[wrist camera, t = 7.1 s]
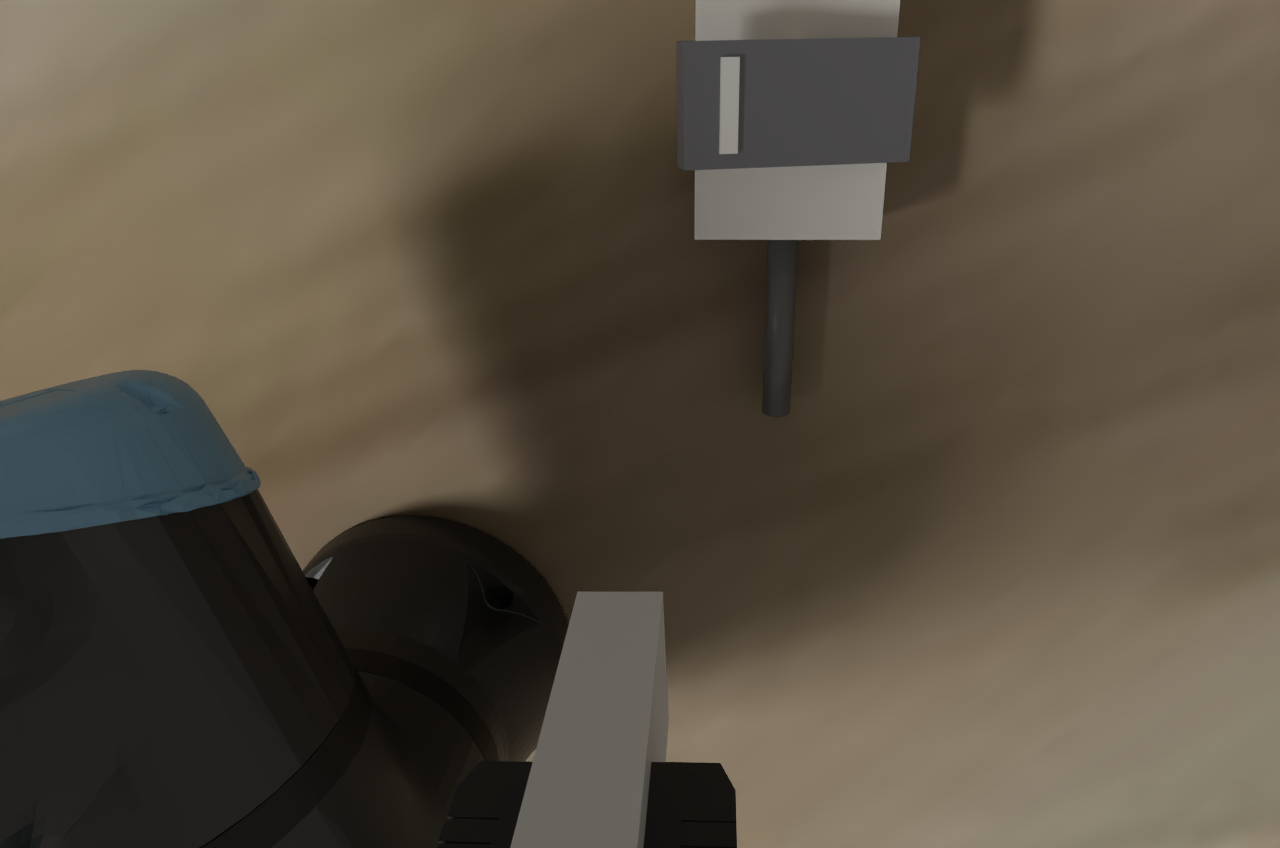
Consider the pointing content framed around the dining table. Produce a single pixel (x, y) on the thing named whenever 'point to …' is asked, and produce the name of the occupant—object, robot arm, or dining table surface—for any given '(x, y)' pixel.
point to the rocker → (795, 102)
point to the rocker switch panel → (790, 171)
